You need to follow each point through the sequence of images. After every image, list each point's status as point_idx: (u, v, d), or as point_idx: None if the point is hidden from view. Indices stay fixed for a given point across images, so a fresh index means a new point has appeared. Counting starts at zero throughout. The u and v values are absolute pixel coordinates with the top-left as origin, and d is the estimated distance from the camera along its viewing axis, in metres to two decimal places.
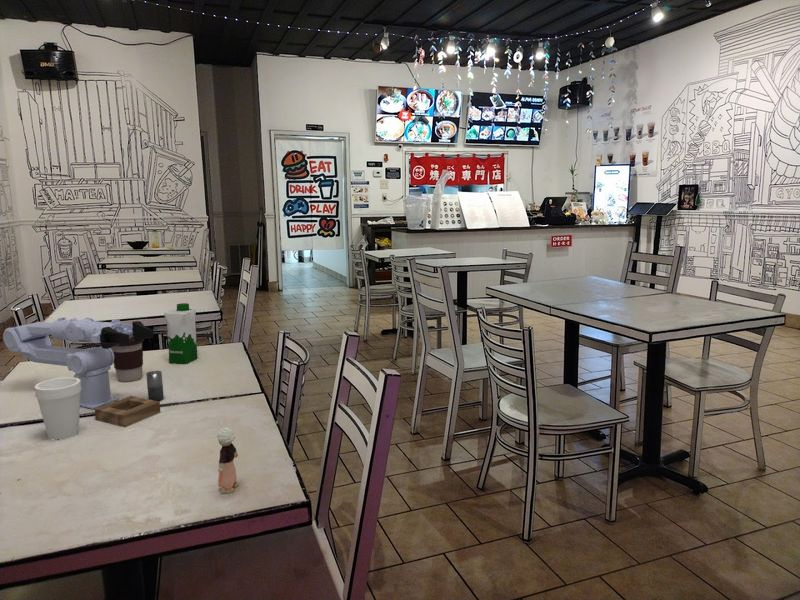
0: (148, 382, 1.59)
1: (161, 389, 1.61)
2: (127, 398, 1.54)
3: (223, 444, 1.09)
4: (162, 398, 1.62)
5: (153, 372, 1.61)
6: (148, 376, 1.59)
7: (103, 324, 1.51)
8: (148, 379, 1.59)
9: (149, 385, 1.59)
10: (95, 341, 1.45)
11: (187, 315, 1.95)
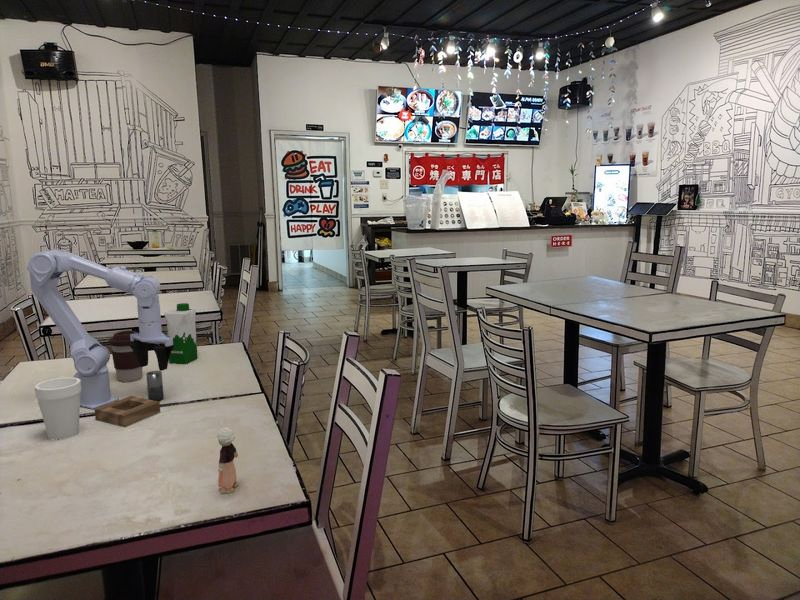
0: (148, 382, 1.59)
1: (161, 389, 1.61)
2: (127, 398, 1.54)
3: (223, 444, 1.09)
4: (162, 398, 1.62)
5: (153, 372, 1.61)
6: (148, 376, 1.59)
7: None
8: (148, 379, 1.59)
9: (149, 385, 1.59)
10: (168, 344, 1.55)
11: (187, 315, 1.95)
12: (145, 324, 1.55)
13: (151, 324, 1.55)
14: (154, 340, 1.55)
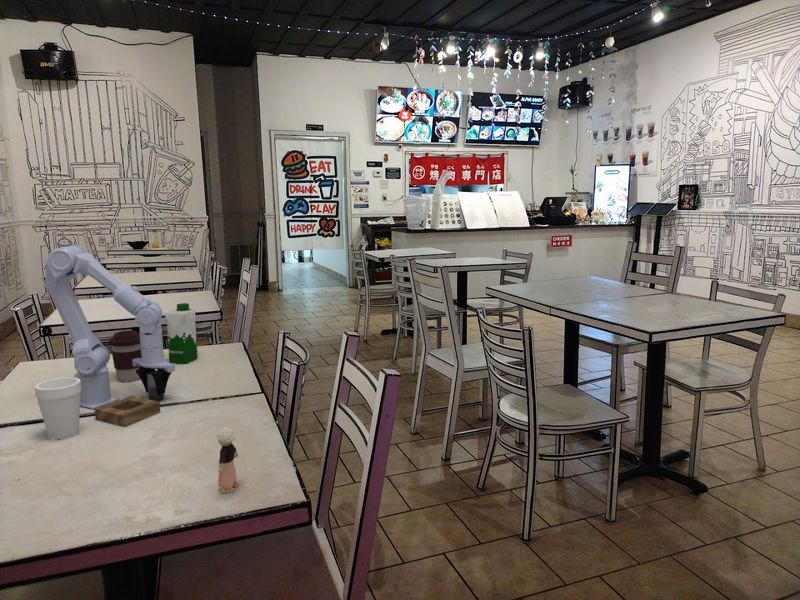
0: (148, 382, 1.59)
1: None
2: (127, 398, 1.54)
3: (223, 444, 1.09)
4: (162, 398, 1.62)
5: None
6: (148, 376, 1.59)
7: None
8: (148, 378, 1.59)
9: (149, 385, 1.59)
10: (170, 370, 1.57)
11: (187, 315, 1.95)
12: (147, 350, 1.56)
13: (153, 350, 1.57)
14: (156, 366, 1.57)
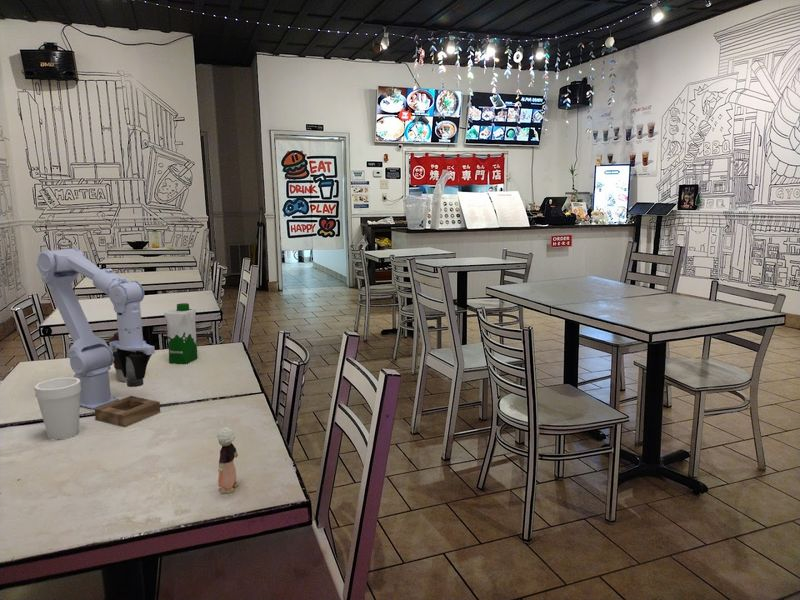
0: (127, 365, 1.49)
1: None
2: (127, 398, 1.54)
3: (223, 444, 1.09)
4: (142, 383, 1.52)
5: None
6: (127, 359, 1.49)
7: None
8: (127, 362, 1.49)
9: (128, 369, 1.49)
10: (150, 353, 1.47)
11: (187, 315, 1.95)
12: (125, 331, 1.46)
13: (131, 331, 1.47)
14: (134, 348, 1.47)
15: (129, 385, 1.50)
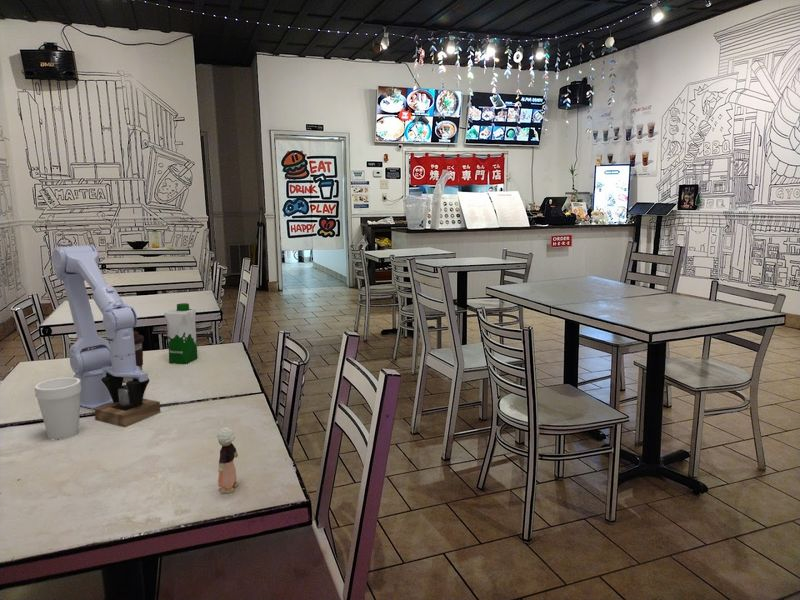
0: (120, 397, 1.47)
1: None
2: None
3: (223, 444, 1.09)
4: None
5: (125, 386, 1.49)
6: (120, 391, 1.47)
7: None
8: (119, 393, 1.47)
9: (121, 400, 1.47)
10: (142, 380, 1.44)
11: (187, 315, 1.95)
12: (117, 357, 1.44)
13: (124, 358, 1.44)
14: (127, 375, 1.44)
15: None
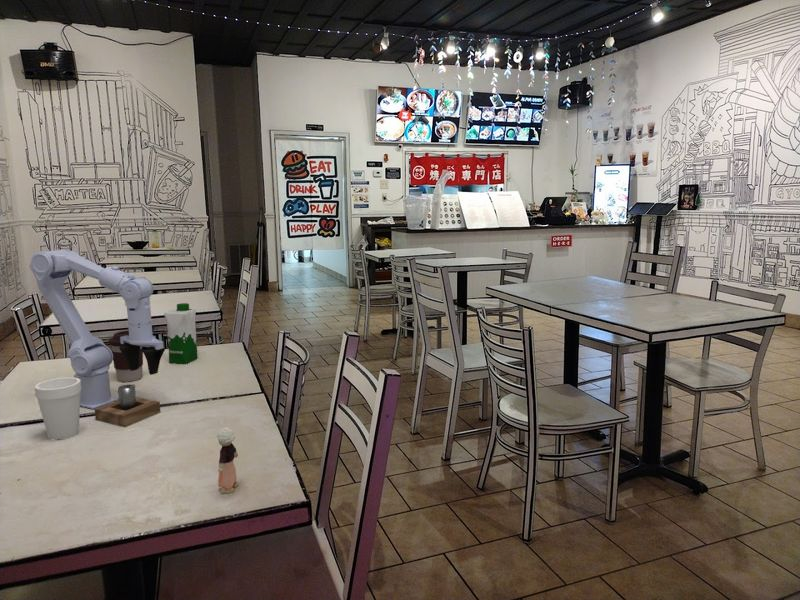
0: (120, 397, 1.47)
1: (134, 404, 1.49)
2: None
3: (223, 444, 1.09)
4: None
5: (125, 386, 1.49)
6: (120, 391, 1.47)
7: None
8: (119, 393, 1.47)
9: (121, 400, 1.47)
10: (158, 348, 1.50)
11: (187, 315, 1.95)
12: (134, 326, 1.50)
13: (141, 326, 1.50)
14: (144, 343, 1.50)
15: None
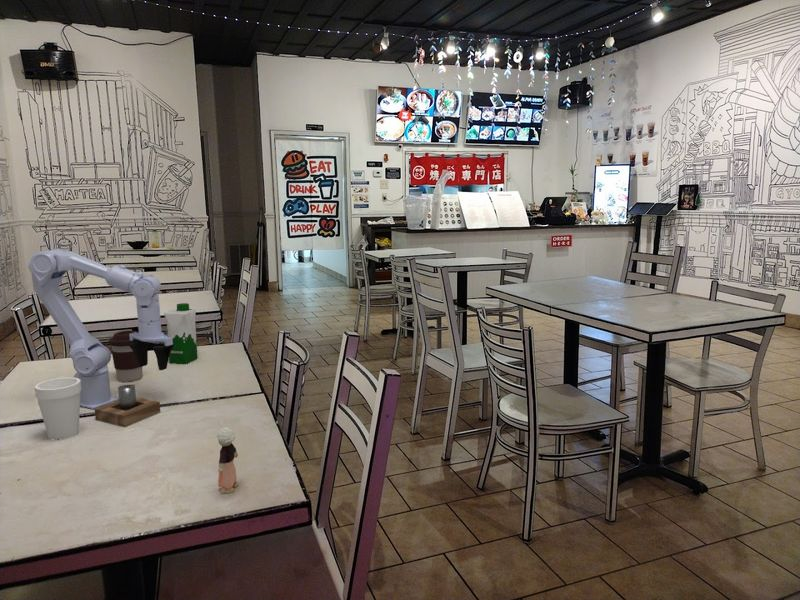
0: (120, 397, 1.47)
1: (134, 404, 1.49)
2: None
3: (223, 444, 1.09)
4: None
5: (125, 386, 1.49)
6: (120, 391, 1.47)
7: None
8: (119, 393, 1.47)
9: (121, 400, 1.47)
10: (168, 344, 1.54)
11: (187, 315, 1.95)
12: (144, 323, 1.54)
13: (151, 323, 1.54)
14: (154, 339, 1.54)
15: None
